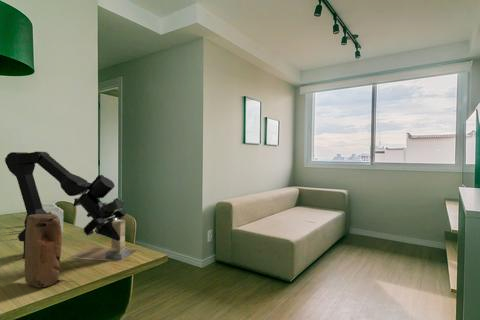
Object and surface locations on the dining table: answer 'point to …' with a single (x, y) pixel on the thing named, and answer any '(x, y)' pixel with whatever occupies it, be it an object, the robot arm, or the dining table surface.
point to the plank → (97, 254)
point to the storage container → (54, 212)
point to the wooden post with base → (118, 242)
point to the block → (42, 249)
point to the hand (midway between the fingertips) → (122, 238)
